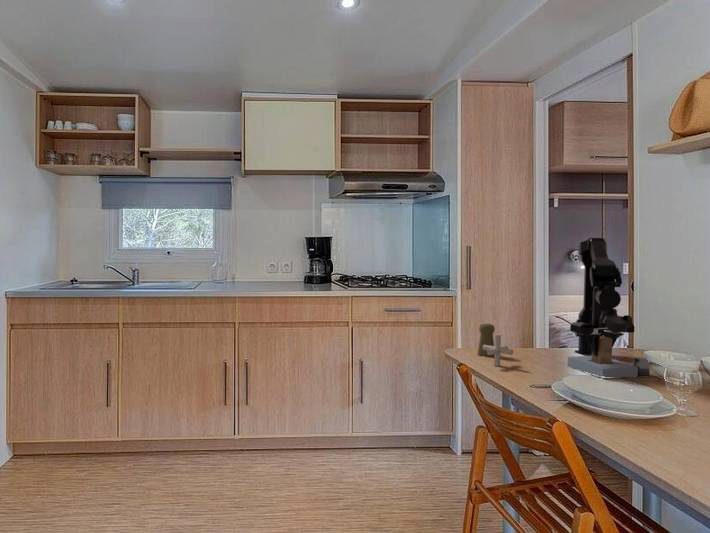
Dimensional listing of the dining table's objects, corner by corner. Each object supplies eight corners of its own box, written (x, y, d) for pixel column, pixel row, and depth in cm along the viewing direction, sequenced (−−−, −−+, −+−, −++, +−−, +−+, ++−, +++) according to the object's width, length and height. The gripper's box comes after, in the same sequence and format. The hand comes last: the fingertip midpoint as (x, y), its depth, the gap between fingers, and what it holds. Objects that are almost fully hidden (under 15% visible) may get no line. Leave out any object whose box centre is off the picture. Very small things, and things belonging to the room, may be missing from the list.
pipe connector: (491, 360, 170) (492, 330, 169) (519, 365, 163) (519, 334, 162) (475, 365, 163) (475, 334, 162) (503, 371, 156) (504, 338, 155)
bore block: (567, 366, 163) (567, 356, 163) (599, 364, 166) (600, 355, 165) (602, 379, 147) (602, 368, 147) (637, 377, 150) (637, 366, 150)
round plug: (628, 373, 154) (629, 357, 154) (641, 372, 155) (642, 356, 155) (640, 377, 150) (640, 360, 150) (653, 376, 151) (653, 359, 151)
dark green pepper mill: (481, 352, 182) (481, 321, 182) (497, 354, 179) (498, 323, 178) (474, 355, 178) (475, 324, 177) (491, 357, 174) (492, 325, 174)
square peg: (591, 362, 158) (592, 336, 157) (602, 361, 159) (603, 336, 158) (600, 365, 154) (601, 339, 154) (611, 364, 155) (612, 338, 154)
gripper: (594, 308, 146) (592, 362, 146) (649, 307, 150) (647, 359, 151) (569, 304, 156) (568, 354, 157) (621, 303, 161) (620, 351, 161)
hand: (601, 355), depth 156 cm, fingers closed on square peg, 4 cm apart
